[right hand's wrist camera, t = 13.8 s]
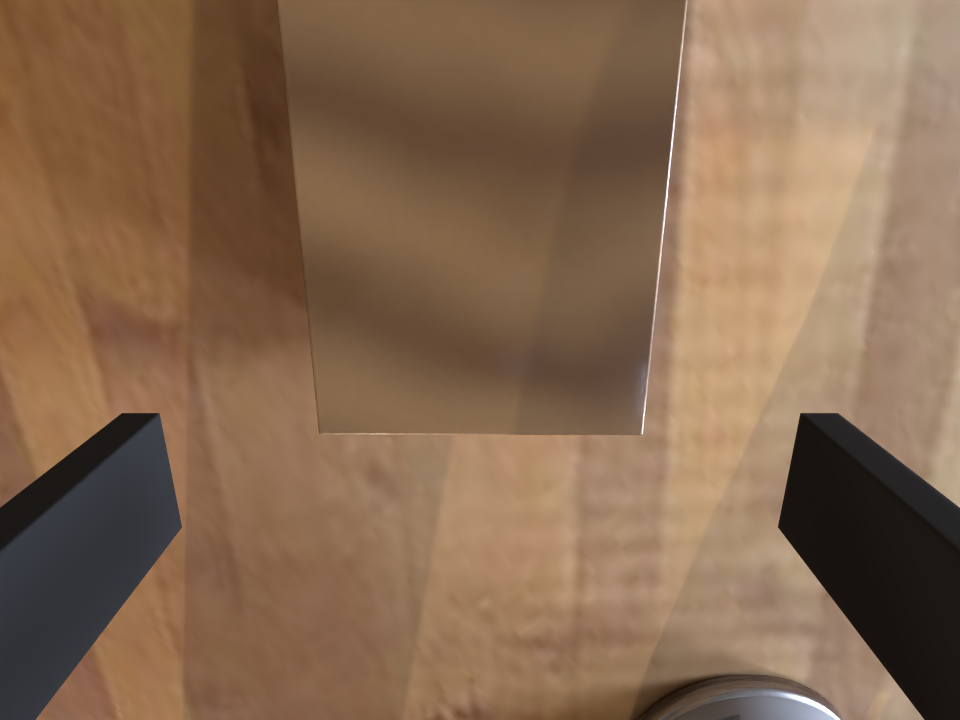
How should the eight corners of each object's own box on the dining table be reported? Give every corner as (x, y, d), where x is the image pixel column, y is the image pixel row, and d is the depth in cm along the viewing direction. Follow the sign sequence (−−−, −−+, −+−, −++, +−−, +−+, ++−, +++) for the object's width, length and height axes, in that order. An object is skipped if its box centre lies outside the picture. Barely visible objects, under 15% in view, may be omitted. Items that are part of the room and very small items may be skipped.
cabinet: (341, -143, 24) (242, -342, 14) (622, -142, 24) (724, -340, 14) (370, 338, 31) (318, 435, 21) (590, 338, 31) (643, 436, 21)
